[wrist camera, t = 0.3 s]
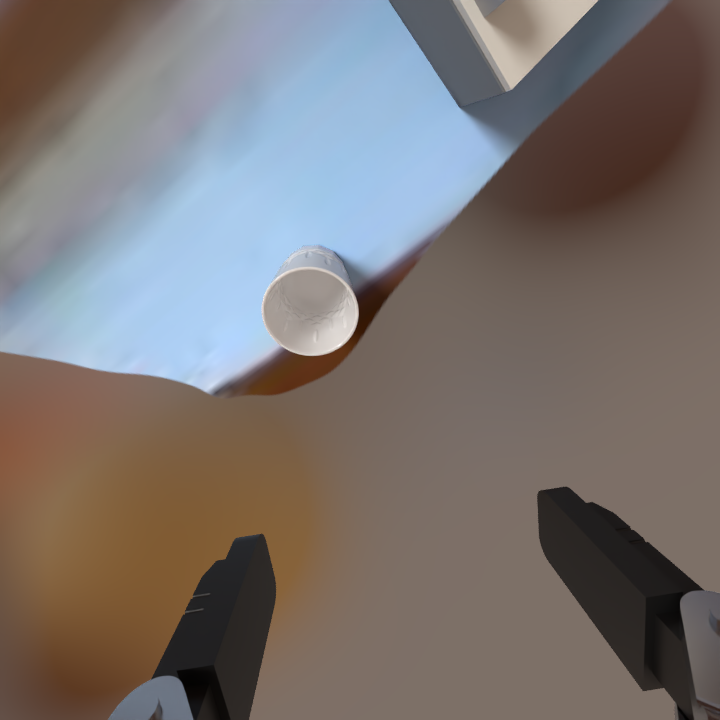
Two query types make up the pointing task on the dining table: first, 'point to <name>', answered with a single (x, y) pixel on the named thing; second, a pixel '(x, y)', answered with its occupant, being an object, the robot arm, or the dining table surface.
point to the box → (450, 49)
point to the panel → (519, 31)
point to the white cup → (311, 303)
